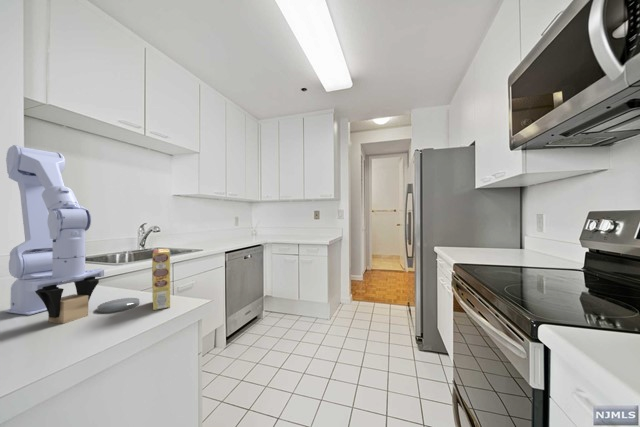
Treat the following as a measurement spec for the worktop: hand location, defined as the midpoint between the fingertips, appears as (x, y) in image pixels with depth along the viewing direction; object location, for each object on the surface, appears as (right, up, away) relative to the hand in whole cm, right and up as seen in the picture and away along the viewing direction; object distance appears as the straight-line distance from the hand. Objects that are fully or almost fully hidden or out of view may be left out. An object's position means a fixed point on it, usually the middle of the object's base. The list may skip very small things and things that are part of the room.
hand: (68, 312), depth 60 cm
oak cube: (0, -1, 0) cm, 1 cm away
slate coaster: (+6, -2, +8) cm, 10 cm away
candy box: (+17, -2, +9) cm, 19 cm away
